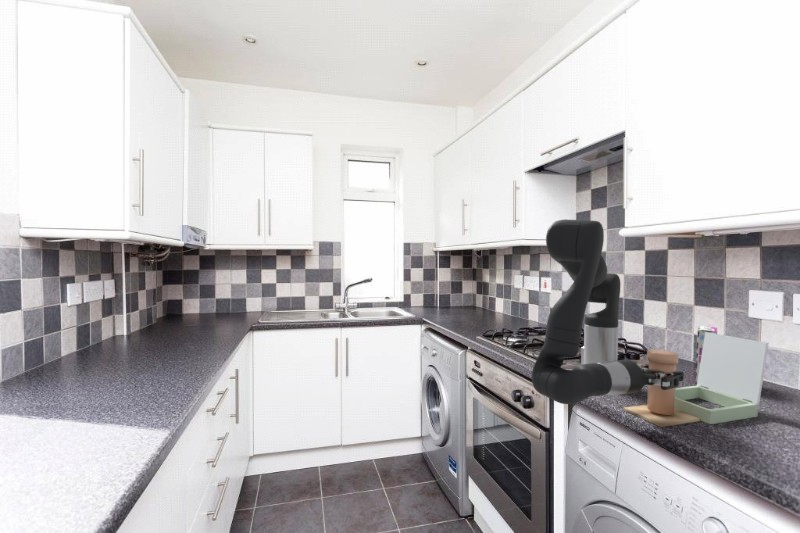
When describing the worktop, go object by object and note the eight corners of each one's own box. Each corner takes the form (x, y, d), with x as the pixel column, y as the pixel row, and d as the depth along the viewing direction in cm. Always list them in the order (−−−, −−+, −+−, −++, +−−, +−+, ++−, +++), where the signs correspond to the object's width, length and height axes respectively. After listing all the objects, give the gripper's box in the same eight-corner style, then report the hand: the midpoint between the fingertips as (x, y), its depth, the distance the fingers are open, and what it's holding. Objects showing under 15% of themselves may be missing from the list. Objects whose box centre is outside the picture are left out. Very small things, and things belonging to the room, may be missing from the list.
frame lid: (696, 386, 106) (698, 332, 106) (705, 385, 107) (707, 331, 107) (756, 405, 93) (759, 343, 92) (766, 403, 94) (768, 342, 93)
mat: (623, 409, 96) (623, 407, 96) (659, 405, 99) (659, 402, 99) (661, 427, 86) (661, 424, 86) (699, 420, 90) (699, 418, 90)
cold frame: (653, 402, 101) (654, 390, 101) (697, 396, 106) (697, 385, 106) (710, 424, 88) (710, 411, 88) (757, 416, 93) (757, 404, 93)
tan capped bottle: (639, 406, 95) (641, 350, 94) (658, 404, 97) (660, 348, 96) (663, 416, 89) (665, 356, 88) (682, 413, 91) (685, 355, 90)
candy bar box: (715, 386, 115) (717, 331, 115) (694, 382, 118) (696, 329, 118) (715, 377, 124) (717, 326, 123) (696, 374, 127) (697, 324, 127)
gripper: (643, 370, 81) (701, 365, 86) (591, 353, 95) (643, 350, 100) (642, 405, 81) (700, 398, 86) (590, 383, 95) (642, 378, 100)
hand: (669, 372), depth 93 cm, fingers closed on tan capped bottle, 5 cm apart
